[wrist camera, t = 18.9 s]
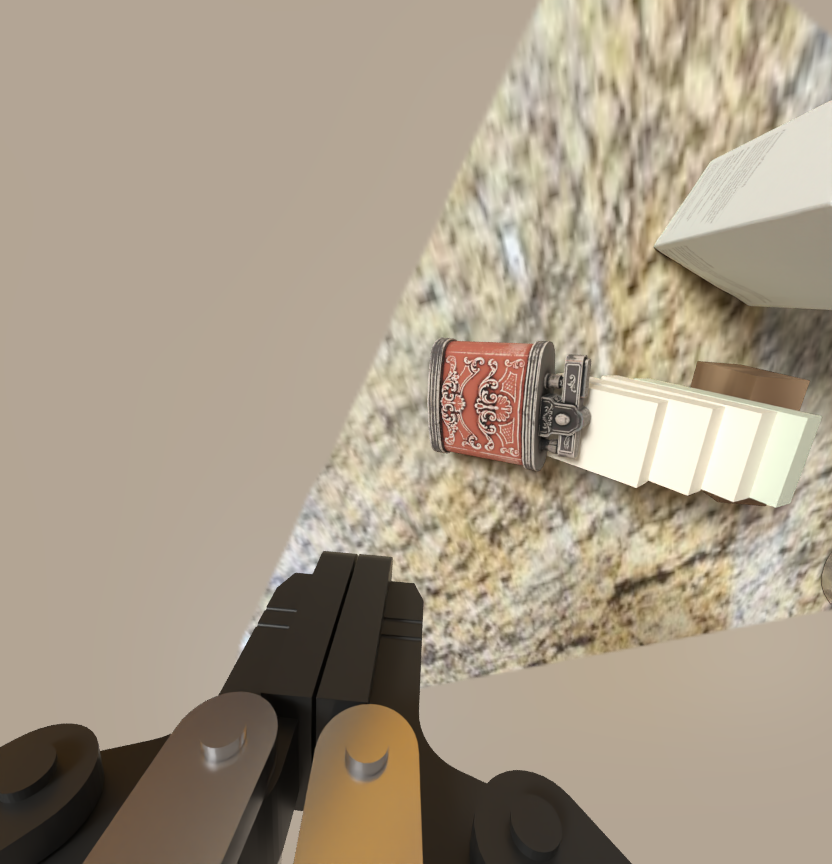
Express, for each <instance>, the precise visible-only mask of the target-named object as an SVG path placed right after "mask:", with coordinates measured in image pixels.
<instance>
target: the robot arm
mask: <svg viewBox="0 0 832 864" xmlns="http://www.w3.org/2000/svg"><path fill="white" fill-rule="evenodd" d="M392 563H393V558H392V557H386V556H375V555H364V554H359V556H358V555H357V554H351V553H340V552H329V551H323V553H322V554H321V557H320V559H319V561H318V563H317V566H316V568H315V570H314V572H313V574H303V573H294V574H293V575H292V576H291V577H290V578H288V579H287V580H286V581H285V582H283V583H282V584H281V585H280V586H278V587H277V589H276V590H275V592H274V594H273V596H272V598H271V600H270V601H269V603H268V605H267V609H266V610H265V611H264V613H263V614H262V616H261V618H260V620H259V622H258V626H257V627H255V629H254V631H253V633H252V635H251V637H250V638H249V640H248V642H247V644H246V646H245V648H244V649H243V651H242V653H241V655H240V657H239V659H238V660H237V662H236V664H235V666H234V668H233V670H232V672H231V673H230V675H229V677H228V679H227V681H226V683H225V685H224V686H223V688H222V690H221V692H220V693H219V695H218V696H216V697H213V698H211V699H209V700H207V701H205V702H203V703H202V704H200V705H198V706H197V707H196V708H194V709H193V710H192V711H190V712H189V713H188V714H187V715H186V716H185V717H184V718H183V719H182V720H181V722H180V723H179V724H178V725H177V727H176V728H175V729H174V731H173V732H172V734H169V735H167V736H164V737H162V738H158V739H154V740H150V741H145V742H140V743H136V744H131V745H126V746H122V747H117V748H112V749H107V750H103V751H100V749H99V744H98V741H97V738H96V736H95V735H94V733H93V732H92V731H91V730H90V729H88V728H87V727H84V726H82V725H78V724H57V725H51V726H47V727H44V728H40V729H38V730H35V731H32V732H29V733H27V734H25V735H23V736H21V737H19V738H17V739H15V740H13V741H11V742H9V743H7V744H5V745H4V746H2V747H0V864H281V860H282V851H283V848H284V844H285V840H286V836H287V833H288V829H289V826H290V822H291V819H292V815H293V811H294V810H298V811H303V815H302V821H301V826H300V831H299V837H298V842H297V847H296V852H295V857H294V863H293V864H631V863H630V861H629V860H628V859H627V858H626V857H625V856H624V855H623V854H622V853H621V852H620V850H619V849H618V848H617V847H616V846H615V845H614V844H613V843H612V842H611V841H610V840H609V838H608V837H607V836H606V835H605V834H604V833H603V832H602V831H601V830H600V829H599V828H598V826H597V825H596V824H595V823H594V822H593V821H592V820H591V819H590V818H589V817H588V816H587V814H586V813H585V812H584V811H583V810H582V809H581V808H580V807H579V806H578V805H577V804H576V802H575V801H574V800H573V799H572V798H571V797H570V796H569V795H568V794H567V793H566V792H565V791H564V790H563V789H561V788H560V787H559V786H557V785H556V784H555V783H554V782H552V781H551V780H549V779H547V778H545V777H544V776H541V775H538V774H536V773H533V772H528V771H522V770H513V771H507V772H504V773H501V774H499V775H497V776H495V777H494V778H492V779H491V780H490V781H489V782H488V783H484V782H482V781H480V780H478V779H476V778H474V777H472V776H469V775H467V774H465V773H463V772H461V771H459V770H457V769H455V768H453V767H451V766H450V765H448V764H447V763H446V762H444V761H443V760H442V759H441V758H440V757H439V756H438V755H437V754H436V753H435V752H434V751H433V750H432V748H431V747H430V746H429V744H428V742H427V741H426V739H425V737H424V735H423V732H422V729H421V726H420V721H419V695H420V672H421V648H422V622H423V599H422V597H421V595H420V593H419V591H418V590H417V588H416V586H415V584H414V583H404V582H393V581H391V579H392ZM822 587H823V591H824V594H825V596H826V597H827V599H828V601H829V602H830V603H831V604H832V553H831V554H830V556H829V558H828V559H827V561H826V563H825V566H824V569H823V573H822Z"/></svg>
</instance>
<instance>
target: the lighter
mask: <svg viewBox="0 0 832 864" xmlns="http://www.w3.org/2000/svg"><path fill="white" fill-rule="evenodd" d="M590 369H591V359H588V356H587V355H567V357H566V360H565V369H564V377H562V375H555V349H554V345H553V343H552V342H550V341H537V342H535V343H534V344H524V343H495V342H466V341H457V340H456V339H453V338H440V339H438V340H437V341H436V342H435V343H434V345H433V347H432V350H431V357H430V366H429V376H428V398H427V403H428V426H429V435H430V444H431V447H432V449H433V450H434V451H437V452H442V453H450V452H455V453H460V454H466V455H471V456H476V457H481V458H487V459H492V460H497V461H502V462H508V463H513V464H518V465H523V466H524V468H526V469H529V470H535V471H539V470H540V469H541V468H542V467H543V465H544V463H545V460H546V456H547V451H549V452H551V453H553V454H558V456H561V457H567V458H573V459H575V458H576V457H577V456H578V452H579V445H580V435H581V429H582V428H583V427H584V426H586V425H587V424H588V423H589V421H590V411H589V409H588V408H587V407H585V406H584V398H585V397H586V396H588V389H589V379H590ZM561 387H563V393H562V399H561V398H560V396H559V395H557V394H554V388H555V389H560V388H561ZM551 434H559V439H551V440H549V436H550V435H551Z"/></svg>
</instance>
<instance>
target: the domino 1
mask: <svg viewBox="0 0 832 864" xmlns="http://www.w3.org/2000/svg"><path fill="white" fill-rule="evenodd" d="M562 393H563V387H561V388H560V389H555V388H554V394H557V395H559V396H560V398H561V399H562ZM668 402H669V400H664V399H659V398H655V397H650V396H645V395H640V394H636V393H631V392H626V391H622V390H617V389H612V388H608V387H603V386H598V385H594V384H589V389H588V396H586V397H585V398H584V406H585V407H587V408H588V409H589V411H590V421H589V423H588V424H587V425H586V426H584V427H583V428H582V429H581V435H580V445H579V452H578V456H577V457H576V458H575V459H573V458H567V457H561V456H558V454H553V453H551V452H549V451H547V456H549V457H552V458H555V459H558V460H560V461H563V462H566V463H569V464H571V465H574V466H577V467H580V468H583V469H585V470H588V471H591V472H594V473H596V474H599V475H602V476H605V477H608V478H610V479H613V480H616V481H619V482H621V483H624V484H627V485H630V486H633V487H635V488H637V487H639V486H641V485H643V484H645V483H646V482H648V478H649V474H650V471H651V467H652V463H653V459H654V455H655V452H656V448H657V444H658V440H659V436H660V433H661V429H662V425H663V421H664V417H665V414H666V410H667V406H668ZM551 439H559V434H551V435H550V436H549V440H551Z"/></svg>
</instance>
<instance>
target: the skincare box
mask: <svg viewBox="0 0 832 864" xmlns="http://www.w3.org/2000/svg"><path fill="white" fill-rule="evenodd" d="M654 247H655V248H656V249H657V250H659V251H660V252H661V253H663V254H665V255H666V256H668V257H669V258H671V259H673V260H674V261H676V262H678V263H679V264H681V265H682V266H684V267H686V268H687V269H689V270H690V271H692V272H693V273H695V274H697V275H698V276H700V277H702V278H703V279H705V280H706V281H708V282H710V283H711V284H713V285H715V286H716V287H718V288H720V289H722V290H723V291H725V292H727V293H729V294H731V295H733V296H735V297H736V298H738V299H739V300H741V301H742V302H744V303H745V304H747V305H748V306H760V307H781V308H803V309H822V310H832V100H831V101H829V102H827V103H825V104H823V105H821V106H819V107H817V108H815V109H813V110H811V111H809V112H807V113H805V114H803V115H801V116H799V117H797V118H795V119H793V120H791V121H789V122H787V123H785V124H783V125H781V126H779V127H777V128H775V129H773V130H771V131H769V132H767V133H765V134H763V135H761V136H759V137H757V138H755V139H753V140H751V141H749V142H747V143H745V144H744V145H742V146H740V147H738V148H736V149H734V150H732V151H730V152H728V153H726V154H724V155H722V156H720V157H718V158H716V159H714V160H712V161H711V162H710V163H709V165H708V166H707V168H706V169H705V171H704V172H703V174H702V175H701V177H700V178H699V180H698V181H697V183H696V184H695V186H694V187H693V189H692V190H691V192H690V193H689V194H688V196H687V197H686V199H685V200H684V202H683V203H682V205H681V206H680V208H679V209H678V211H677V212H676V214H675V215H674V216H673V218H672V219H671V221H670V222H669V224H668V225H667V227H666V228H665V230H664V231H663V233H662V234H661V236H660V237H659V238H658V240H657V241H656V243H655V245H654Z"/></svg>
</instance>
